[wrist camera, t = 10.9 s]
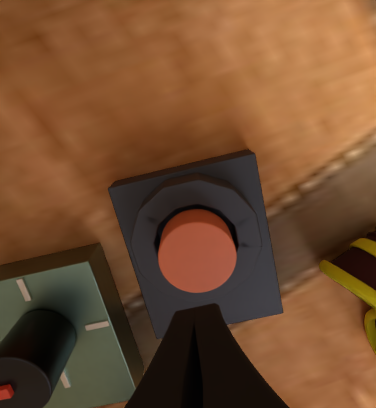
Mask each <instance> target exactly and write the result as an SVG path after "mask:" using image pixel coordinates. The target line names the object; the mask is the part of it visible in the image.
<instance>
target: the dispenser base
mask: <svg viewBox="0 0 376 408" xmlns="http://www.w3.org/2000/svg"><path fill="white" fill-rule="evenodd" d="M108 191H109V194H110V197H111V200H112V203H113V206H114V209H115V212H116V215H117V219H118V222H119V225H120V228H121V231H122V234H123V237H124V240H125V243H126V246H127V249H128V252H129V255H130V258H131V261H132V265H133V268H134V271H135V274H136V277H137V280H138V283H139V286H140V289H141V292H142V295H143V298H144V301H145V304H146V307H147V311H148V314H149V317H150V320H151V323H152V326H153V329H154V332H155V335H156V338H157V339H160V338H163V337H164V335H165V333H166V331H167V328H168V326H169V324H170V322H171V319H172V317H173V315H174V313H175V312H176V311H179V310H184V309H189V308H193V307H198V306H203V305H208V304H212V303H216V304H218V305H219V306H220V310H221V314H222V316H223V319H224V321H225V323H226V325H228V324H233V323H237V322H242V321H247V320H252V319H257V318H262V317H267V316H272V315H276V314H281V313H283V308H282V302H281V296H280V291H279V285H278V280H277V274H276V268H275V263H274V257H273V251H272V246H271V240H270V234H269V229H268V223H267V218H266V212H265V206H264V201H263V195H262V189H261V184H260V178H259V173H258V167H257V161H256V156H255V153H254V152H252V151H251V150H249V149H247V150H243V151H239V152H235V153H231V154H227V155H222V156H218V157H214V158H210V159H206V160H202V161H197V162H193V163H189V164H185V165H181V166H177V167H172V168H168V169H164V170H160V171H156V172H152V173H148V174H143V175H139V176H135V177H131V178H127V179H123V180H118V181H115V182H114V183H113V184H112V185H111V186H110V187H109V188H108ZM190 209H203V210H208V211H210V212H213V213H215V214H216V215H218V216H219V217H220V218H221V219H222V220H223V221H224V222H225V223H226V225H227V226H228V228H229V231H230V233H231V236H232V239H233V242H234V245H235V248H236V253H237V260H236V265H235V268H234V270H233V272H232V274H231V276H230V277H229V278H228V279H227V281H226V282H224V283H223V284H222V285H221V286H219V287H217V288H216V289H213V290H211V291H207V292H202V293H192V292H186V291H183V290H181V289H178V288H177V287H175V286H173V285H172V284H171V283H170V282H169V281H168V280H167V279H166V278H165V277H164V275H163V274H162V272H161V270H160V267H159V263H158V251H159V246H160V241H161V236H162V232H163V229H164V227H165V226H166V224H167V223H168V221H169V220H170V219H171V218H172V217H174V216H175V215H177V214H178V213H180V212H183V211H185V210H190Z"/></svg>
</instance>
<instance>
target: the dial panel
mask: <svg viewBox="0 0 376 408" xmlns="http://www.w3.org/2000/svg"><path fill="white" fill-rule="evenodd" d="M37 310H46V311H51V312H54V313H57V314H59V315H61V316H62V317H64V318H65V319H66V320H67V321H68V322H69V323H70V324H71V325H72V327H73V329H74V331H75V336H76V343H75V347H74V349H73V351H72V353H71V355H70V357H69V360H68V362H67V364H66V366H65V368H64V370H63V372H62V375H61V377H60V379H59V381H58V383H57V385H56V387H55V390H54V392H53V394H52V396H51V398H50V400H49V402H48V403H47V404H46V405H45V406H44V407H43V408H92V407H98V406H103V405H108V404H113V403H118V402H123V401H129V399H130V398H131V396H132V395H133V393H134V391H135V389H136V388H137V386H138V384H139V383H140V381H141V379H142V377H143V372H144V366H143V363H142V360H141V357H140V355H139V352H138V349H137V346H136V343H135V340H134V338H133V335H132V332H131V329H130V326H129V323H128V320H127V318H126V315H125V312H124V309H123V306H122V303H121V301H120V298H119V295H118V292H117V289H116V286H115V284H114V281H113V278H112V275H111V272H110V269H109V266H108V264H107V261H106V258H105V255H104V252H103V249H102V247H101V244H100V243H97V244H93V245H88V246H84V247H79V248H75V249H71V250H66V251H62V252H58V253H53V254H49V255H44V256H40V257H36V258H31V259H27V260H23V261H18V262H14V263H9V264H5V265H1V266H0V342H1V341H2V340H3V339H4V337H5V336H6V335H7V334H8V332H9V331H10V330H11V329H12V327H13V326H14V325H15V323H16V322H17V321H18V320H19V319H20V318H21V317H22V316H23V315H25V314H27V313H29V312H32V311H37Z"/></svg>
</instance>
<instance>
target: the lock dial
mask: <svg viewBox="0 0 376 408" xmlns="http://www.w3.org/2000/svg"><path fill="white" fill-rule="evenodd" d="M75 343H76V336H75V331H74V329H73V327H72V325H71V324H70V323H69V322H68V321H67V320H66V319H65V318H64V317H62V316H61V315H59V314H57V313H54V312H51V311H46V310H37V311H32V312H29V313H27V314H25V315H23V316H22V317H21V318H20V319H19V320H18V321H17V322H16V323H15V325H14V326H13V327H12V329H11V330H10V331H9V332H8V334H7V335H6V336H5V337H4V339H3V340H2V341H1V342H0V408H43V407H44V406H45V405H46V404H47V403H48V402H49V400H50V398H51V396H52V394H53V392H54V390H55V387H56V385H57V383H58V381H59V379H60V377H61V375H62V372H63V370H64V368H65V366H66V364H67V362H68V360H69V357H70V355H71V353H72V351H73V349H74V347H75Z"/></svg>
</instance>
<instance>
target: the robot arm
mask: <svg viewBox="0 0 376 408" xmlns="http://www.w3.org/2000/svg"><path fill="white" fill-rule="evenodd" d="M124 408H289V407H288V406H287V405H286V404H285V402H284V401H283V400H282V399H281V398H280V397H279V396H278V395H277V394H276V392H275V391H274V390H273V389H272V388H271V387H270V386H269V384H268V383H267V382H266V381H265V380H264V378H263V377H262V376H261V375H260V373H259V372H258V371H257V370H256V368H255V367H254V366H253V364H252V363H251V362H250V360H249V359H248V358H247V356H246V355H245V353H244V352H243V351H242V349H241V348H240V346H239V345H238V343H237V341H236V340H235V338H234V337H233V335H232V334H231V332H230V330H229V328H228V326H227V325H226V323H225V321H224V319H223V316H222V314H221V310H220V306H219V305H218V304H216V303H212V304H208V305H203V306H198V307H193V308H189V309H184V310H179V311H176V312H175V313H174V315H173V317H172V319H171V322H170V324H169V326H168V328H167V331H166V333H165V335H164V337H163V339H162V341H161V344H160V346H159V348H158V349H157V351H156V353H155V355H154V357H153V359H152V361H151V363H150V365H149V367H148V369H147V371H146V372H145V374H144V376H143V377H142V379H141V381H140V383H139V384H138V386H137V388H136V389H135V391H134V393H133V395H132V396H131V398H130V399H129V401H128V403H127V404H126V406H125V407H124Z"/></svg>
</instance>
